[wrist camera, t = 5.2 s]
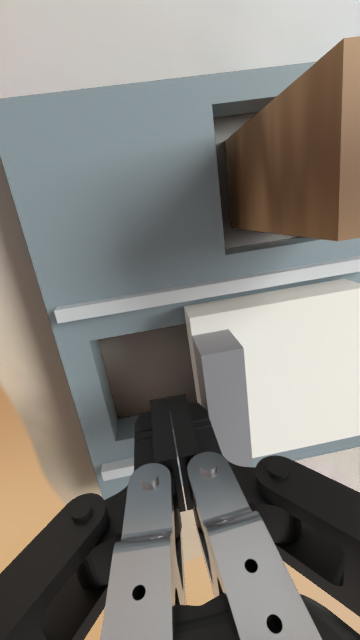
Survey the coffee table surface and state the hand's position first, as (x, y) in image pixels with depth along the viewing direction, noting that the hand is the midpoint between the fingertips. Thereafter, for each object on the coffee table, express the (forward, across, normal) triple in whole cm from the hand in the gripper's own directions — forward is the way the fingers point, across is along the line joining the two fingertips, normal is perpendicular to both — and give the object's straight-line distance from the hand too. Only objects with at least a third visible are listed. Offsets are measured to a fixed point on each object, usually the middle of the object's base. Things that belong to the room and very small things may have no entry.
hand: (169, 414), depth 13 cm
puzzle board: (+5, -4, -3) cm, 7 cm away
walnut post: (+5, -7, -9) cm, 12 cm away
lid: (+3, -6, 0) cm, 6 cm away
